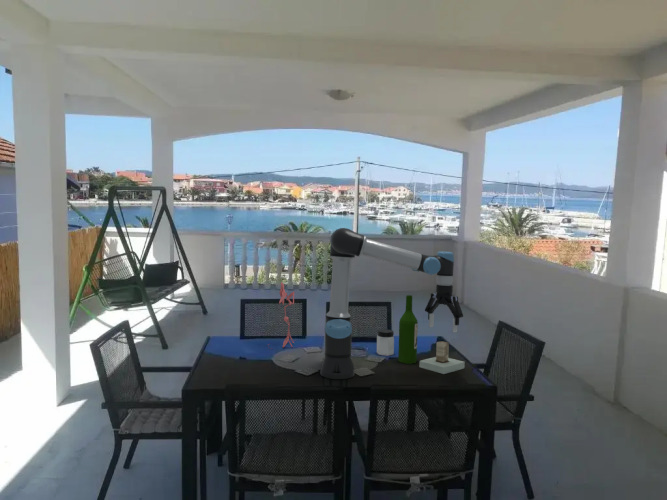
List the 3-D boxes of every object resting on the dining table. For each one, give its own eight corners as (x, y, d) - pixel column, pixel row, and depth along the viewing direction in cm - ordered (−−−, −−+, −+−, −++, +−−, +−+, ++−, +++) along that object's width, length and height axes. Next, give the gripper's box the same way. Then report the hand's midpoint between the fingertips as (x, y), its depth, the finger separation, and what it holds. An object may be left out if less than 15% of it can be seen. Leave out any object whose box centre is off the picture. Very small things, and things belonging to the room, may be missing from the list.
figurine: (296, 340, 280) (296, 279, 278) (293, 351, 254) (292, 284, 252) (269, 340, 280) (269, 279, 278) (263, 351, 254) (263, 284, 252)
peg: (442, 369, 227) (443, 343, 226) (435, 367, 230) (436, 342, 230) (448, 367, 230) (448, 342, 229) (441, 366, 233) (441, 341, 232)
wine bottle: (416, 364, 234) (418, 297, 233) (397, 363, 236) (399, 296, 235) (416, 359, 243) (418, 294, 242) (398, 358, 245) (400, 294, 243)
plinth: (443, 374, 219) (443, 367, 219) (419, 367, 230) (419, 360, 230) (464, 368, 230) (464, 361, 229) (440, 361, 240) (440, 355, 240)
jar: (385, 356, 248) (386, 333, 247) (373, 353, 253) (374, 330, 253) (396, 353, 254) (397, 331, 253) (384, 350, 260) (385, 328, 259)
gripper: (472, 286, 221) (470, 333, 222) (428, 281, 240) (426, 324, 241) (462, 287, 216) (460, 335, 217) (418, 282, 235) (417, 325, 236)
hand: (442, 329), depth 229 cm, fingers open, 13 cm apart
